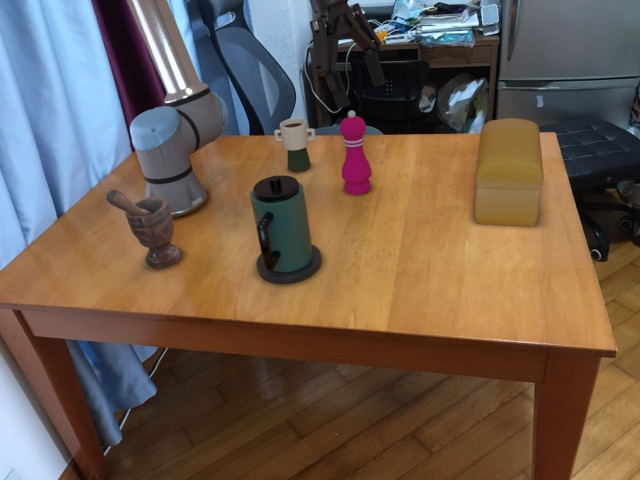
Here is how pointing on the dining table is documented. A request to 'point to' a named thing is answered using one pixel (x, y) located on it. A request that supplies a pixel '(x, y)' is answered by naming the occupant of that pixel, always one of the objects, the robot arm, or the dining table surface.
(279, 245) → the kettle
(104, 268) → the dining table surface
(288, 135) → the character mug
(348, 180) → the pepper mill
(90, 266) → the dining table surface
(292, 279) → the kettle base
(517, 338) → the dining table surface
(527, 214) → the bread
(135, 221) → the mortar and pestle
